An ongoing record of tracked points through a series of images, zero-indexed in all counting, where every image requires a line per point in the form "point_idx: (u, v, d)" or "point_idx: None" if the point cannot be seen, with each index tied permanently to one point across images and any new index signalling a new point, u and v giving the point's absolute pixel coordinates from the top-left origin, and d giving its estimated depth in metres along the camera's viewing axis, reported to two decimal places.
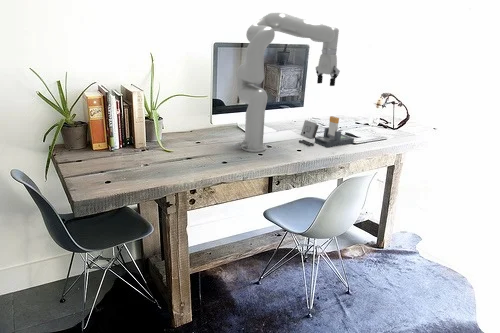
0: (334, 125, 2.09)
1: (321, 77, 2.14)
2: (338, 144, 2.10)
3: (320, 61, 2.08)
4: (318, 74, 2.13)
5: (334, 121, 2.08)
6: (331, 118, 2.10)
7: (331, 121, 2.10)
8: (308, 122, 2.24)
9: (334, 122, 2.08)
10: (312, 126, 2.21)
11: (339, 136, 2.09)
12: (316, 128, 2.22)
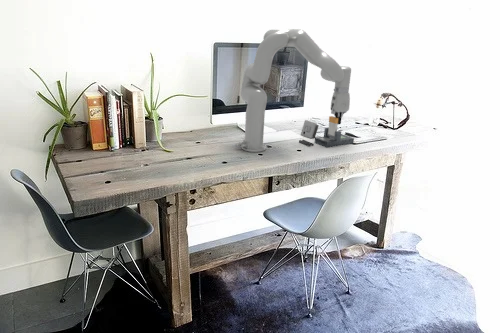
0: (334, 125, 2.09)
1: None
2: (338, 144, 2.10)
3: (339, 101, 2.04)
4: (339, 115, 2.08)
5: (333, 121, 2.08)
6: (330, 118, 2.10)
7: (330, 121, 2.10)
8: (308, 122, 2.24)
9: (334, 122, 2.08)
10: (312, 126, 2.21)
11: (339, 136, 2.09)
12: (316, 128, 2.22)
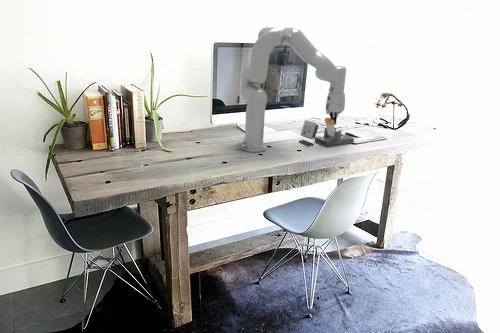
0: (331, 127, 2.08)
1: None
2: (338, 144, 2.10)
3: (334, 101, 2.02)
4: (334, 115, 2.06)
5: (330, 123, 2.07)
6: (326, 120, 2.08)
7: (327, 123, 2.09)
8: (308, 122, 2.24)
9: (330, 124, 2.07)
10: (312, 126, 2.21)
11: (339, 136, 2.09)
12: (316, 128, 2.22)
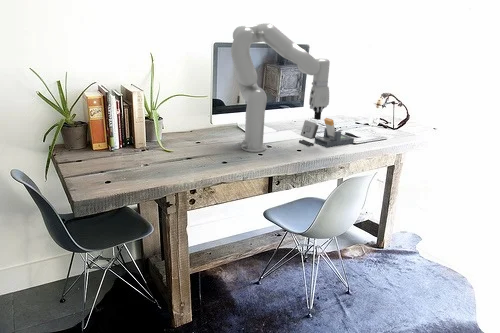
0: (330, 127, 2.08)
1: None
2: (338, 144, 2.10)
3: (318, 95, 1.94)
4: (318, 110, 1.99)
5: (329, 124, 2.07)
6: (326, 121, 2.08)
7: (326, 123, 2.09)
8: (308, 122, 2.24)
9: (330, 124, 2.07)
10: (312, 126, 2.21)
11: (339, 136, 2.09)
12: (316, 128, 2.22)
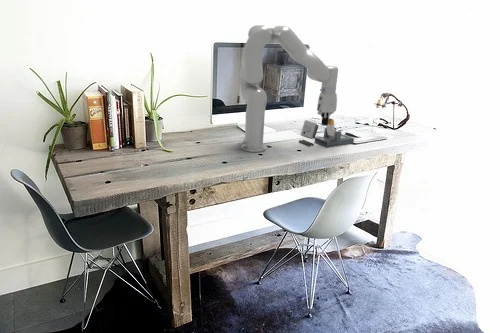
0: (331, 127, 2.08)
1: None
2: (338, 144, 2.10)
3: (326, 101, 1.98)
4: (325, 116, 2.03)
5: (329, 123, 2.07)
6: None
7: None
8: (308, 122, 2.24)
9: (330, 124, 2.07)
10: (312, 126, 2.21)
11: (339, 136, 2.09)
12: (316, 128, 2.22)
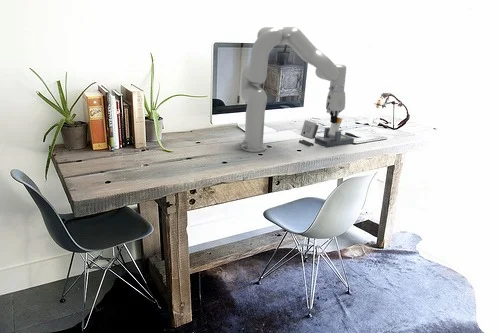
0: (336, 125, 2.10)
1: None
2: (338, 144, 2.10)
3: (335, 99, 2.01)
4: (334, 114, 2.06)
5: (337, 121, 2.09)
6: None
7: None
8: (308, 122, 2.24)
9: (337, 122, 2.09)
10: (312, 126, 2.21)
11: (339, 136, 2.09)
12: (316, 128, 2.22)
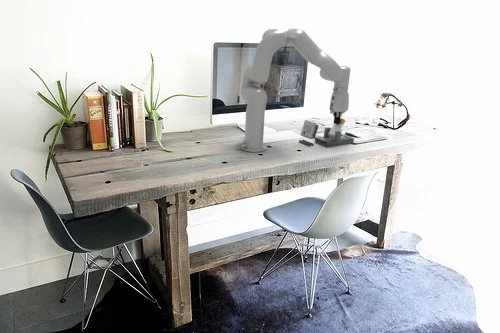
0: (338, 125, 2.11)
1: None
2: (338, 144, 2.10)
3: (338, 100, 2.03)
4: (338, 115, 2.08)
5: (340, 122, 2.11)
6: None
7: None
8: (308, 122, 2.24)
9: (340, 122, 2.11)
10: (312, 126, 2.21)
11: (339, 136, 2.09)
12: (316, 128, 2.22)
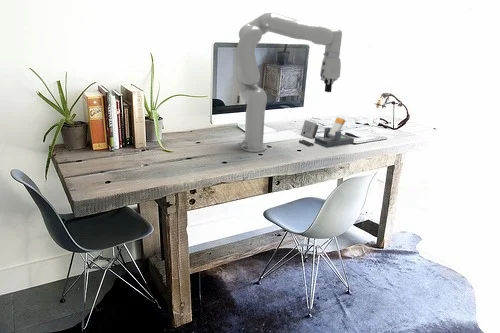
0: (338, 125, 2.11)
1: None
2: (338, 144, 2.10)
3: (329, 66, 1.92)
4: (329, 82, 1.97)
5: (340, 122, 2.11)
6: (338, 119, 2.13)
7: (336, 122, 2.13)
8: (308, 122, 2.24)
9: (340, 122, 2.11)
10: (312, 126, 2.21)
11: (339, 136, 2.09)
12: (316, 128, 2.22)
